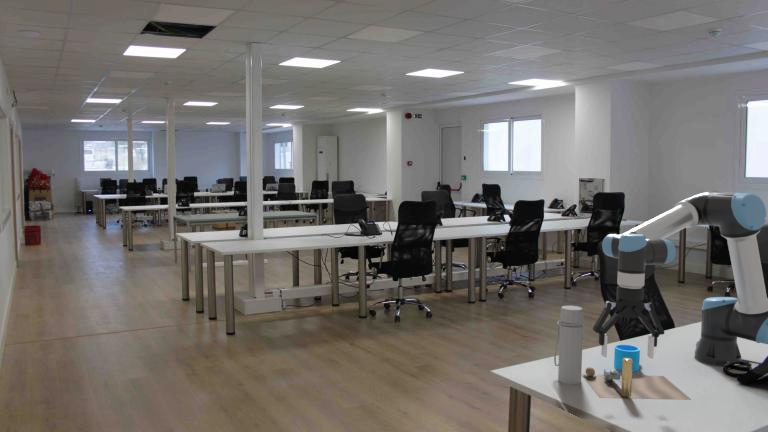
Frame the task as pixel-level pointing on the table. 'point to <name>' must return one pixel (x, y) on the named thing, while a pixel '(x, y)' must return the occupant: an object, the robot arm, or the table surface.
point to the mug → (626, 356)
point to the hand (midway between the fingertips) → (627, 356)
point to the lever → (626, 382)
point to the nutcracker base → (635, 387)
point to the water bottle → (570, 344)
